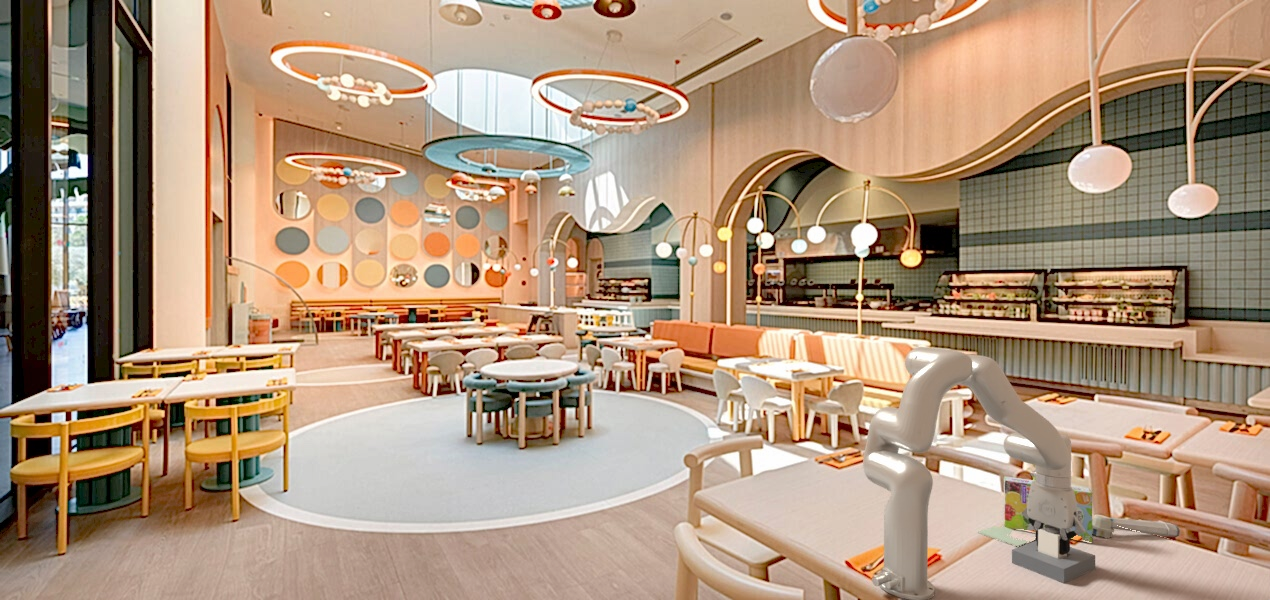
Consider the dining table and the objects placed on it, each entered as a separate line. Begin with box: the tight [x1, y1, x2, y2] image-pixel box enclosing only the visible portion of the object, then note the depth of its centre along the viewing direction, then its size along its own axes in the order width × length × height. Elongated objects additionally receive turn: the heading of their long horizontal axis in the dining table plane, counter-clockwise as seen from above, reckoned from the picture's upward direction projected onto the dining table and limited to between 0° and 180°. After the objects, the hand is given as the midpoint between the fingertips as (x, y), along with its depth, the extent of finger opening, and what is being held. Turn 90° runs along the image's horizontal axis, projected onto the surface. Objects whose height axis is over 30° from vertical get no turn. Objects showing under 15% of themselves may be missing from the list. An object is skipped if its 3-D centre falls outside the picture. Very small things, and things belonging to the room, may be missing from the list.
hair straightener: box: [1092, 513, 1180, 539], centre depth 165 cm, size 5×7×25 cm
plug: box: [1038, 524, 1067, 559], centre depth 146 cm, size 5×5×10 cm
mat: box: [977, 525, 1030, 547], centre depth 164 cm, size 11×11×1 cm
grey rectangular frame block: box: [1011, 541, 1096, 584], centre depth 146 cm, size 16×12×4 cm
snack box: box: [1003, 476, 1093, 543], centre depth 167 cm, size 21×6×15 cm, turn 58°
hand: (1052, 548), depth 146 cm, fingers closed on plug, 4 cm apart
